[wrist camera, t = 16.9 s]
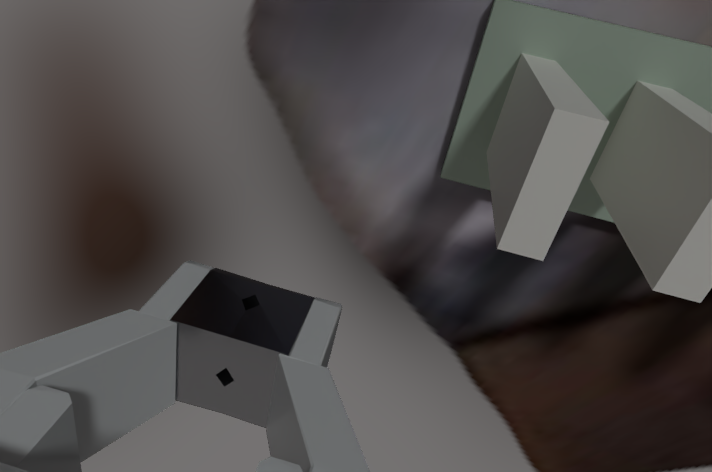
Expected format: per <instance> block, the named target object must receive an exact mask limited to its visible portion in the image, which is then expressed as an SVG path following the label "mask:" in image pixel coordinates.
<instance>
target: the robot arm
mask: <svg viewBox="0 0 712 472" xmlns="http://www.w3.org/2000/svg"><path fill="white" fill-rule="evenodd" d="M341 310H342V305H341V304H340V303H336V302H332V301H329V300H325V299H321V298H317V297H316V298H314V297H311V296H307V295H303V294H300V293H297V292H293V291H289V290H286V289H283V288H279V287H276V286H272V285H268V284H265V283H263V282H259V281H256V280H253V279H250V278H247V277H244V276H240V275H237V274H234V273H231V272H227V271H224V270H221V269H218V268H213V267H210V266H207V265H204V264H200V263H197V262H194V261H191V260H190V261H187V262H185V263H183V264H182V265H181V266H180V267H179V268H178V269H177V270H176V272H175V273H174V274H173V275H172V276H171V277H170V278H169V279H168V280H167V281H166V282H165V283H164V284H163V285H162V287H161V288H160V289H159V290H158V291H157V292H156V293H155V294H154V295H153V296H152V297H151V298H150V299H149V300H148V301H147V303H146V304H145V305H144V306H143V307H142V308H141V309H140V310H139V311H135V310H131V309H129V310H127V311H124V312H121V313H118V314H115V315H112V316H109V317H106V318H103V319H100V320H97V321H94V322H91V323H88V324H85V325H82V326H79V327H76V328H73V329H70V330H67V331H64V332H61V333H59V334H56V335H53V336H50V337H47V338H44V339H41V340H38V341H35V342H32V343H29V344H27V345H23V346H20V347H17V348H14V349H11V350H8V351H6V352H2V353H0V472H82V471H81V464H80V463H81V462H82V461H84V460H86V459H87V458H88V457H90V456H92V455H93V454H95V453H97V452H98V451H100V450H101V449H103V448H104V447H106V446H108V445H109V444H111V443H113V442H114V441H116V440H117V439H119V438H121V437H122V436H124V435H125V434H127V433H128V432H130V431H132V430H133V429H135V428H136V427H138V426H140V425H141V424H143V423H144V422H146V421H148V420H149V419H150V418H152V417H154V416H155V415H157V414H159V413H160V412H162V411H163V410H165V409H167V408H168V407H170V406H171V405H173V404H175V400H176V401H180V402H184V403H187V404H191V405H194V406H198V407H202V408H205V409H209V410H212V411H216V412H220V413H223V414H226V415H229V416H232V417H235V418H238V419H241V420H244V421H246V422H249V423H253V424H255V425H258V426H261V427H264V428H267V429H266V432H267V438H268V444H269V448H270V455H271V457H269V458H267V459H265V460H263V461H261V462H259V465H258V467H257V469H256V472H370V470H369V468H368V465H367V463H366V461H365V458H364V455H363V453H362V450H361V448H360V445H359V443H358V440H357V438H356V435H355V433H354V430H353V428H352V425H351V423H350V420H349V418H348V415H347V413H346V410H345V408H344V405H343V403H342V400H341V398H340V395H339V393H338V390H337V388H336V385H335V383H334V380H333V378H332V376H331V373H330V371H329V368H327V365H328V362H329V358H330V354H331V351H332V346H333V343H334V339H335V335H336V331H337V327H338V323H339V319H340V315H341Z"/></svg>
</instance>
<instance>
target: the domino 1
mask: <svg viewBox="0 0 712 472" xmlns="http://www.w3.org/2000/svg"><path fill="white" fill-rule="evenodd" d="M608 124H609V121H608V120H607V118H606V117H605V116H604V115H603V114H602V113H601V112H600V110H599V109H598V108H597V107H596V106H595V105H594V104H593V103H592V101H591V100H590V99H589V98H588V97H587V96H586V95H585V93H584V92H583V91H582V90H581V89H580V88H579V87H578V86H577V84H576V83H575V82H574V81H573V80H572V79H571V78H570V76H569V75H568V74H567V73H566V72H565V71H564V70H563V68H562V67H561V66H560V65H559V64H558V63H557V62H556V61H553V60H549V59H545V58H541V57H537V56H533V55H528V54H524V53H521V56H520V59H519V62H518V65H517V68H516V70H515V73H514V76H513V79H512V82H511V84H510V87H509V90H508V93H507V96H506V99H505V101H504V104H503V107H502V110H501V113H500V116H499V118H498V121H497V124H496V127H495V130H494V132H493V135H492V138H491V141H490V144H489V147H488V149H487V152H486V153H487V163H488V172H489V181H490V190H491V199H492V208H493V217H494V226H495V235H496V244H497V249H500V250H503V251H507V252H511V253H515V254H518V255H522V256H526V257H530V258H533V259H537V260H541V261H543V260H544V258H545V256H546V254H547V252H548V250H549V248H550V246H551V243H552V241H553V239H554V237H555V235H556V233H557V231H558V229H559V227H560V225H561V222H562V220H563V218H564V216H565V214H566V212H567V210H568V208H569V206H570V204H571V202H572V199H573V197H574V195H575V193H576V191H577V189H578V187H579V185H580V183H581V181H582V178H583V176H584V174H585V172H586V170H587V168H588V166H589V164H590V162H591V160H592V158H593V155H594V153H595V151H596V149H597V147H598V145H599V143H600V141H601V139H602V137H603V134H604V132H605V130H606V128H607V126H608Z"/></svg>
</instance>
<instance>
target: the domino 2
mask: <svg viewBox="0 0 712 472" xmlns="http://www.w3.org/2000/svg"><path fill="white" fill-rule="evenodd" d="M590 180H591V182H592V184H593V186H594V187H595V189H596V191H597V193H598V194H599V196H600V198H601V200H602V201H603V203H604V205H605V207H606V209H607V210H608V212H609V214H610V216H611V217H612V219H613V221H614V223H615V225H616V226H617V228H618V230H619V232H620V233H621V235H622V237H623V239H624V240H625V242H626V244H627V246H628V248H629V249H630V251H631V253H632V255H633V256H634V258H635V260H636V262H637V263H638V265H639V267H640V269H641V271H642V272H643V274H644V276H645V278H646V279H647V281H648V283H649V285H650V286H651V288H652V290H654V291H657V292H661V293H665V294H669V295H672V296H676V297H680V298H684V299H687V300H691V301H695V302H699V303H701V302H702V300H703V299H704V298H705V296H706V295H707V293H708V292H709V291H710V289H711V288H712V113H710V112H708V111H707V110H705V109H704V108H702V107H700V106H699V105H697V104H696V103H694V102H693V101H691V100H689V99H688V98H686V97H685V96H683V95H681V94H680V93H678V92H677V91H675V90H674V89H671V88H666V87H662V86H658V85H654V84H650V83H646V82H641V81H637V82H636V84H635V86H634V88H633V90H632V93H631V95H630V97H629V99H628V101H627V103H626V105H625V107H624V109H623V111H622V113H621V115H620V117H619V119H618V121H617V123H616V125H615V128H614V130H613V132H612V134H611V136H610V138H609V140H608V142H607V144H606V146H605V148H604V150H603V152H602V154H601V156H600V158H599V160H598V163H597V165H596V167H595V169H594V171H593V173H592V175H591V177H590Z"/></svg>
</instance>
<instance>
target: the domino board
mask: <svg viewBox="0 0 712 472" xmlns="http://www.w3.org/2000/svg"><path fill="white" fill-rule="evenodd" d="M521 53H524V54H528V55H533V56H537V57H541V58H545V59H549V60H553V61H556V62H557V63H558V64H559V65H560V66H561V67H562V68H563V70H564V71H565V72H566V73H567V74H568V75H569V76H570V78H571V79H572V80H573V81H574V82H575V83H576V84H577V86H578V87H579V88H580V89H581V90H582V91H583V92H584V93H585V95H586V96H587V97H588V98H589V99H590V100H591V101H592V103H593V104H594V105H595V106H596V107H597V108H598V109H599V110H600V112H601V113H602V114H603V115H604V116H605V117H606V118H607V120H608V121H609V124H608V126H607V128H606V130H605V132H604V134H603V137H602V139H601V141H600V143H599V145H598V147H597V149H596V151H595V153H594V155H593V158H592V160H591V162H590V164H589V166H588V168H587V170H586V172H585V174H584V176H583V178H582V181H581V183H580V185H579V187H578V189H577V191H576V193H575V195H574V197H573V199H572V202H571V204H570V206H569V208H568V211H571V212H575V213H579V214H583V215H587V216H591V217H595V218H598V219H602V220H606V221H610V222H614V221H613V219H612V217H611V216H610V214H609V212H608V210H607V209H606V207H605V205H604V203H603V201H602V200H601V198H600V196H599V194H598V193H597V191H596V189H595V187H594V186H593V184H592V182H591V180H590V177H591V175H592V173H593V171H594V169H595V167H596V165H597V163H598V160H599V158H600V156H601V154H602V152H603V150H604V148H605V146H606V144H607V142H608V140H609V138H610V136H611V134H612V132H613V130H614V128H615V125H616V123H617V121H618V119H619V117H620V115H621V113H622V111H623V109H624V107H625V105H626V103H627V101H628V99H629V97H630V95H631V93H632V90H633V88H634V86H635V84H636V82H637V81H641V82H646V83H650V84H654V85H658V86H662V87H666V88H671V89H674V90H675V91H677V92H678V93H680V94H681V95H683V96H685V97H686V98H688V99H689V100H691V101H693V102H694V103H696V104H697V105H699V106H700V107H702V108H704V109H705V110H707V111H708V112H710V113H712V47H711V46H707V45H702V44H698V43H694V42H689V41H685V40H681V39H676V38H672V37H668V36H664V35H659V34H655V33H651V32H646V31H642V30H638V29H633V28H629V27H625V26H621V25H616V24H612V23H608V22H603V21H599V20H595V19H591V18H586V17H582V16H578V15H573V14H569V13H565V12H560V11H556V10H552V9H548V8H543V7H539V6H535V5H530V4H526V3H522V2H517V1H513V0H494V2H493V5H492V8H491V12H490V15H489V18H488V21H487V25H486V28H485V31H484V34H483V37H482V41H481V44H480V47H479V50H478V54H477V57H476V60H475V63H474V67H473V70H472V73H471V76H470V79H469V83H468V86H467V89H466V92H465V96H464V99H463V102H462V105H461V108H460V112H459V115H458V118H457V121H456V125H455V128H454V131H453V134H452V138H451V141H450V144H449V147H448V150H447V154H446V157H445V160H444V163H443V167H442V170H441V176H440V178H444V179H448V180H452V181H456V182H460V183H463V184H467V185H471V186H475V187H479V188H483V189H487V190H490V181H489V172H488V163H487V153H486V152H487V149H488V147H489V144H490V141H491V138H492V135H493V132H494V130H495V127H496V124H497V121H498V118H499V116H500V113H501V110H502V107H503V104H504V101H505V99H506V96H507V93H508V90H509V87H510V84H511V82H512V79H513V76H514V73H515V70H516V68H517V65H518V62H519V59H520V56H521ZM490 191H491V190H490Z"/></svg>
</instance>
